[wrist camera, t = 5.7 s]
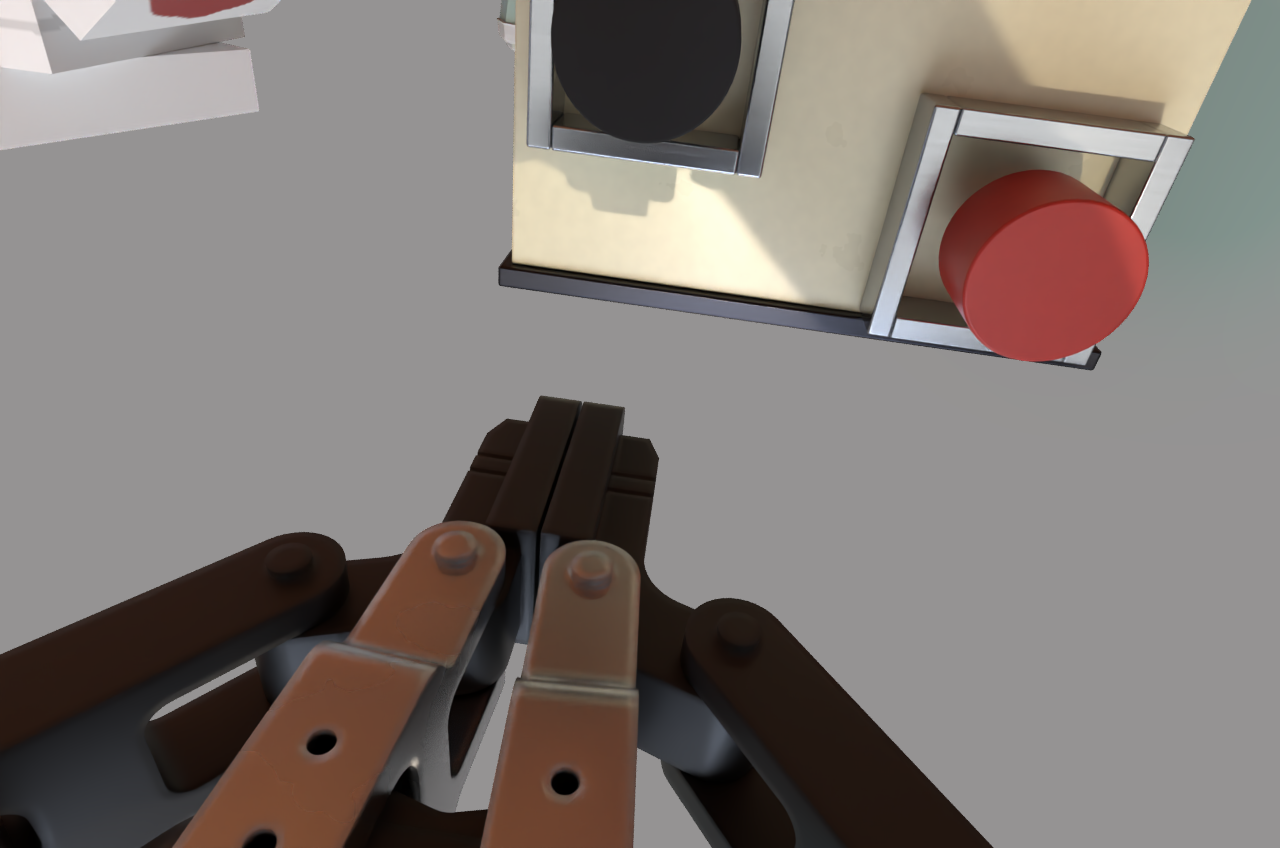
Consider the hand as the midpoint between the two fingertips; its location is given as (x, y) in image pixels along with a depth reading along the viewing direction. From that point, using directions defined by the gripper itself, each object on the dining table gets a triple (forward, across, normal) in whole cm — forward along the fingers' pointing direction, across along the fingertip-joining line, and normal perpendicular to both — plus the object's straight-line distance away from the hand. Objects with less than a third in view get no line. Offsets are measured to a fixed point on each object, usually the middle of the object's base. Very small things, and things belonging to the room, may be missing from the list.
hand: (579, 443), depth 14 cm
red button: (+6, -9, -4) cm, 12 cm away
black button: (+6, 0, -8) cm, 10 cm away
